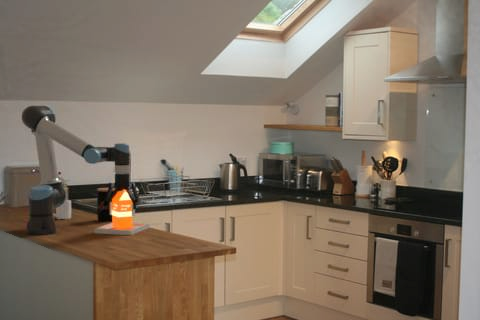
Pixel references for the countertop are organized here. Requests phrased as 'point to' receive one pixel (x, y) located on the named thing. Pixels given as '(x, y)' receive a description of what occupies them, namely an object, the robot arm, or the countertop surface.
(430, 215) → the countertop surface
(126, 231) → the tray
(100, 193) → the coffee jar
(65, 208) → the mug
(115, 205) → the orange juice
